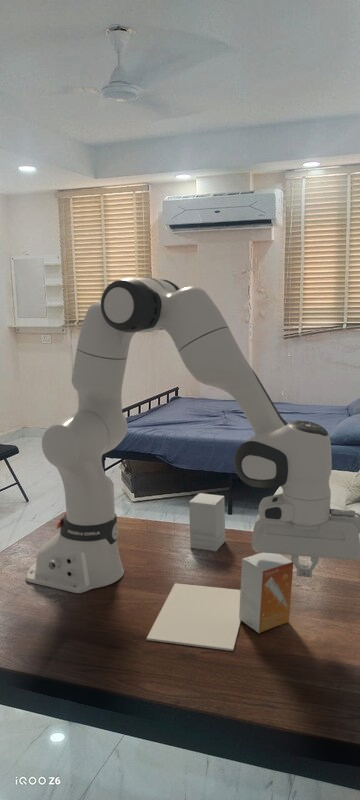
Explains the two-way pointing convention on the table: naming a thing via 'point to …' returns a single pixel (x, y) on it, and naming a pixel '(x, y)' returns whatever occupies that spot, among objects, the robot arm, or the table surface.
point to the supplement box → (207, 521)
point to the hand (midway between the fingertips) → (304, 575)
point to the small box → (265, 591)
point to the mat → (199, 617)
